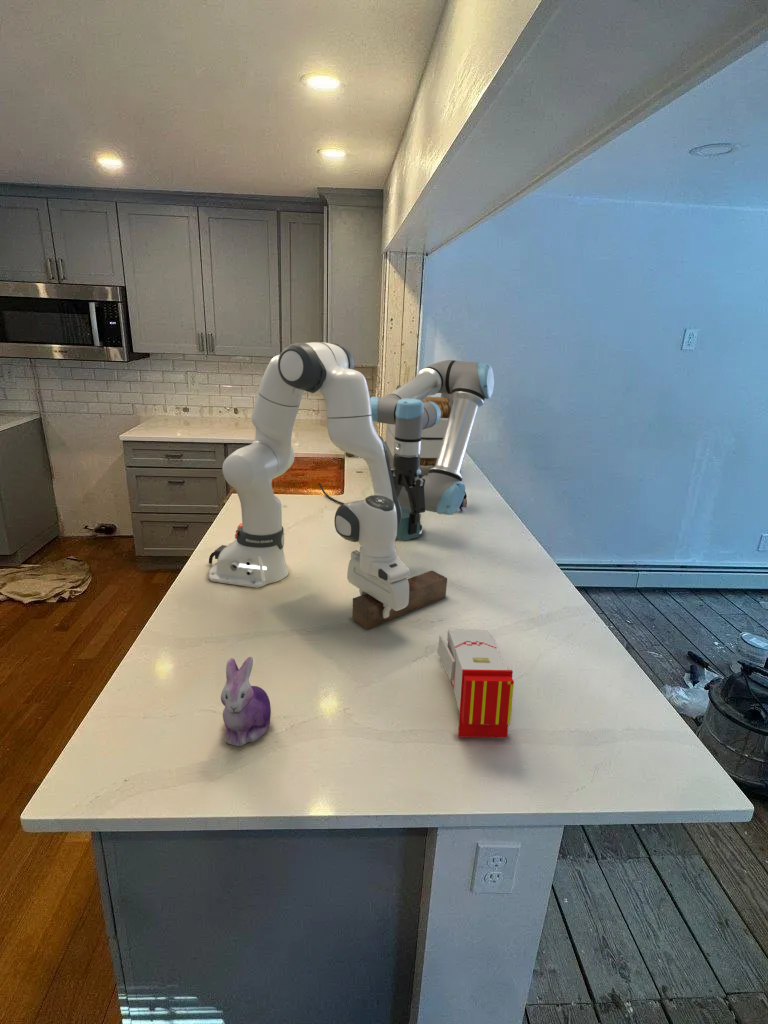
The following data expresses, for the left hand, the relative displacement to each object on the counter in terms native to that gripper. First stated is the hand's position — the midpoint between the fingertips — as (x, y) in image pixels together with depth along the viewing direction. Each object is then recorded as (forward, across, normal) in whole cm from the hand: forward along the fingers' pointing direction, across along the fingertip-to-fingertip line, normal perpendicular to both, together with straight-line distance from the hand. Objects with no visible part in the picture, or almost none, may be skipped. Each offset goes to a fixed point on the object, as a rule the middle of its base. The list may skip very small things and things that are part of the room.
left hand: (375, 610), depth 144 cm
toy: (+2, +35, -3) cm, 35 cm away
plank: (+2, 0, +9) cm, 9 cm away
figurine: (+2, +17, -45) cm, 48 cm away
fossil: (+2, -139, +103) cm, 173 cm away
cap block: (-9, -18, +25) cm, 32 cm away
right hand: (-11, -18, +25) cm, 33 cm away
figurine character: (+2, -47, +82) cm, 95 cm away
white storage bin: (+2, -92, +104) cm, 139 cm away
